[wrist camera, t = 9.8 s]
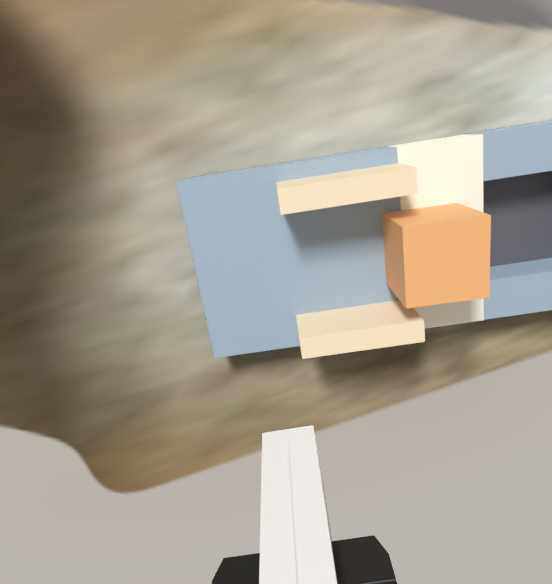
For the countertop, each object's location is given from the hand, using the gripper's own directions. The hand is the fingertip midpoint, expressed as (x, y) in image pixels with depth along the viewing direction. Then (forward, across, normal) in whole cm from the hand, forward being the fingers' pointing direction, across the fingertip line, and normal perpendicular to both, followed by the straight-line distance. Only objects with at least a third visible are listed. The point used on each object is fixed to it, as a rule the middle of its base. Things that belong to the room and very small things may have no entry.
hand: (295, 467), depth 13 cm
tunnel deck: (+22, +8, +1) cm, 24 cm away
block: (+19, +10, +1) cm, 22 cm away
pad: (+22, +12, +1) cm, 25 cm away
